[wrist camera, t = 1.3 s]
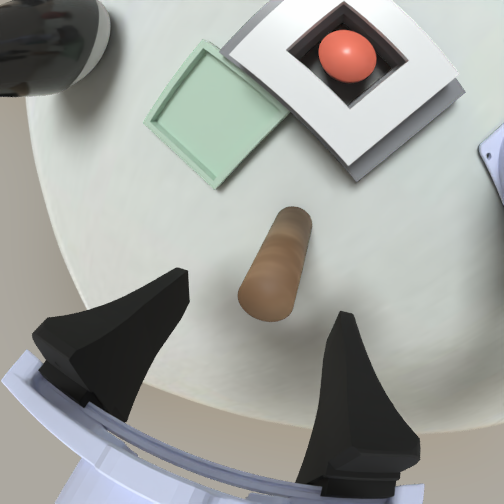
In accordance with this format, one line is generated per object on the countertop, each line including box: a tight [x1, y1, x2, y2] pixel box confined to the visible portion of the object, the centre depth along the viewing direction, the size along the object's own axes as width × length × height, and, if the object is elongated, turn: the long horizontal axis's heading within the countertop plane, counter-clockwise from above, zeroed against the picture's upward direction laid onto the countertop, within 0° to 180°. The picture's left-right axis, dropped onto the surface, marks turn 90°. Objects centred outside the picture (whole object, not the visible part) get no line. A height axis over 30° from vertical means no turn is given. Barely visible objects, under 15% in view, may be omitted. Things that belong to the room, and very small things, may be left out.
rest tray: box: [143, 39, 291, 190], centre depth 17 cm, size 8×8×1 cm
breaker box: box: [219, 0, 465, 182], centre depth 12 cm, size 12×10×4 cm
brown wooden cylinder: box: [238, 207, 312, 322], centre depth 17 cm, size 3×3×9 cm
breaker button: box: [319, 30, 376, 83], centre depth 12 cm, size 3×3×2 cm
